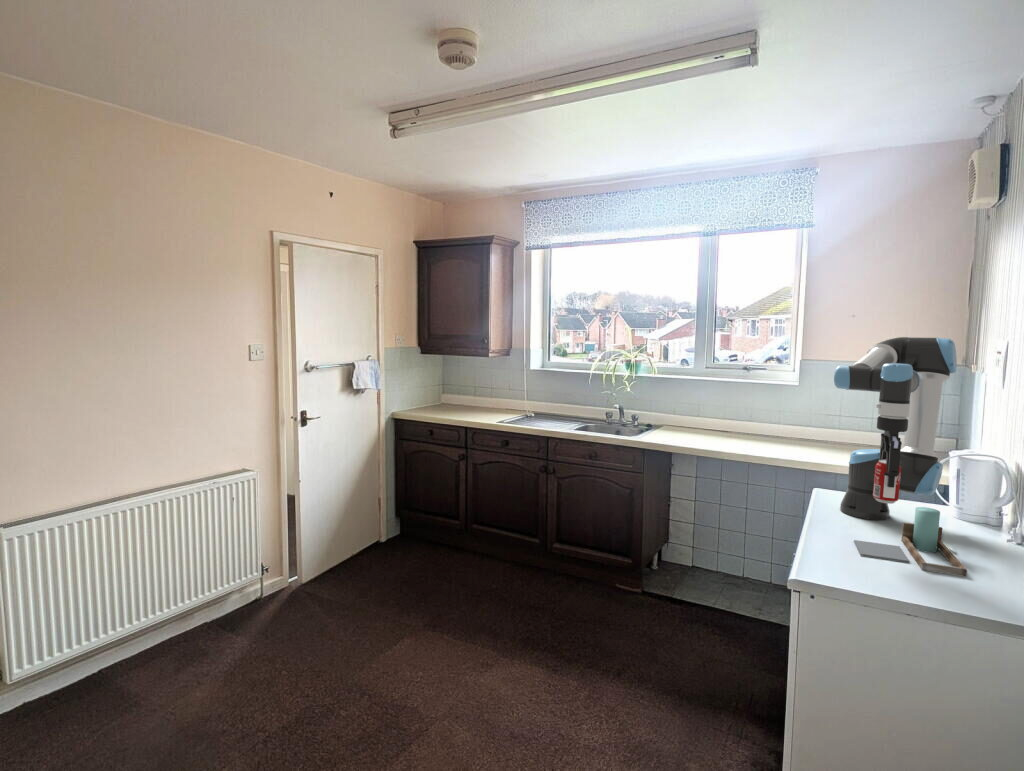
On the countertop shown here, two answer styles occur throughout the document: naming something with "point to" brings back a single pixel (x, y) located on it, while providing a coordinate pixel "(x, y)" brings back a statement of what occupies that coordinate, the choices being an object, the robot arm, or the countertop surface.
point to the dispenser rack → (958, 567)
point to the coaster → (881, 551)
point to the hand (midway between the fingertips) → (886, 494)
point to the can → (926, 529)
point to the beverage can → (879, 483)
